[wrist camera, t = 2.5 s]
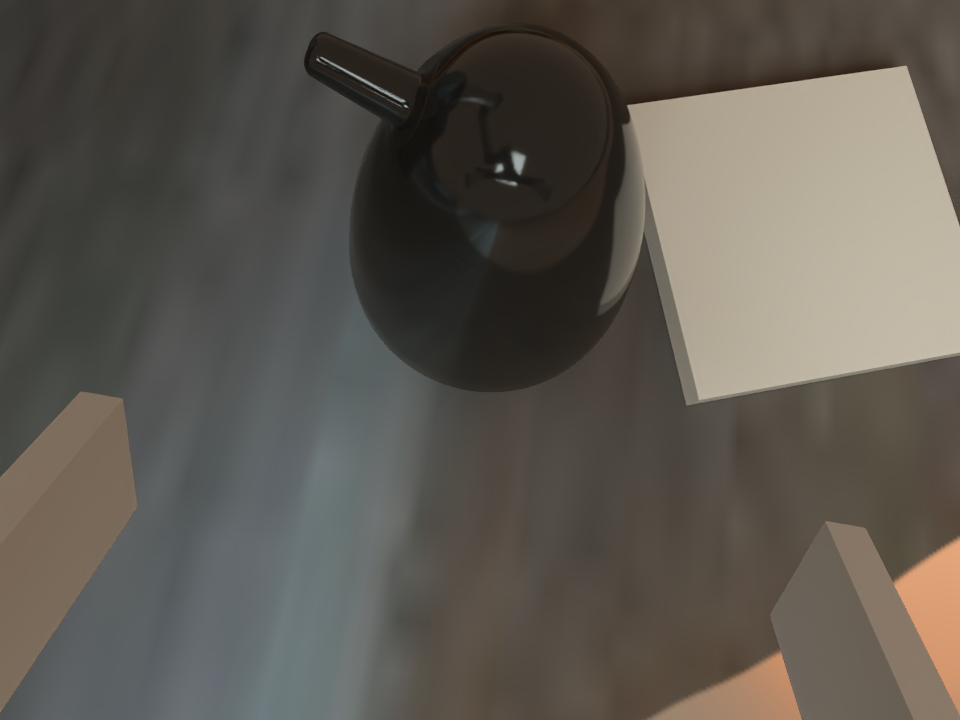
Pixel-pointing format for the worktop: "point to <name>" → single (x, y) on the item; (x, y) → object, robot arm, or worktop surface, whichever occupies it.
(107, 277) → the worktop surface
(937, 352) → the tile pad
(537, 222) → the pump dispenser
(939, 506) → the worktop surface
